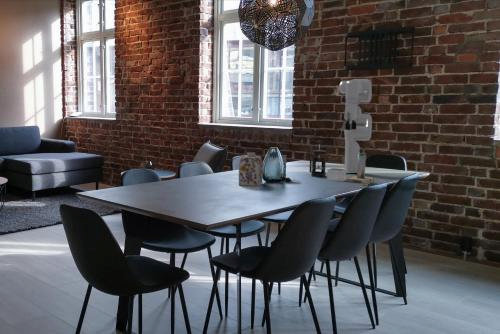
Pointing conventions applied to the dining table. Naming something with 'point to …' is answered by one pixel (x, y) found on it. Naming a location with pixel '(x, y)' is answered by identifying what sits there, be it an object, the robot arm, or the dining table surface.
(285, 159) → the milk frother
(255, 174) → the decorative jar
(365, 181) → the tan flat square block
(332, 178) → the stand base
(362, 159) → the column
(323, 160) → the black lantern
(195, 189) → the dining table surface
